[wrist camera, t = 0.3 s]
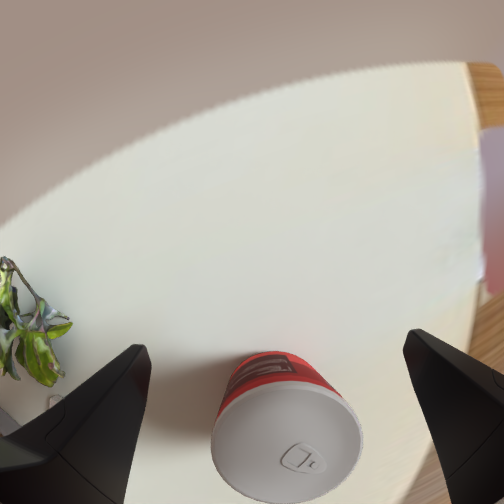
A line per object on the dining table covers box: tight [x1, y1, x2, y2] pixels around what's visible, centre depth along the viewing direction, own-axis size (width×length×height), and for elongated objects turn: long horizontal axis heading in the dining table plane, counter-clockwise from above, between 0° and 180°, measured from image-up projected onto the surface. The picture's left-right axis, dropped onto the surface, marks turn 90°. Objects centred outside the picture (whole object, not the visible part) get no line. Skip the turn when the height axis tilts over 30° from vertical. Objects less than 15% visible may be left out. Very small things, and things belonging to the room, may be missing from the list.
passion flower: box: [0, 256, 73, 387], centre depth 20 cm, size 11×11×12 cm
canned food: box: [211, 351, 363, 504], centre depth 17 cm, size 8×8×11 cm
